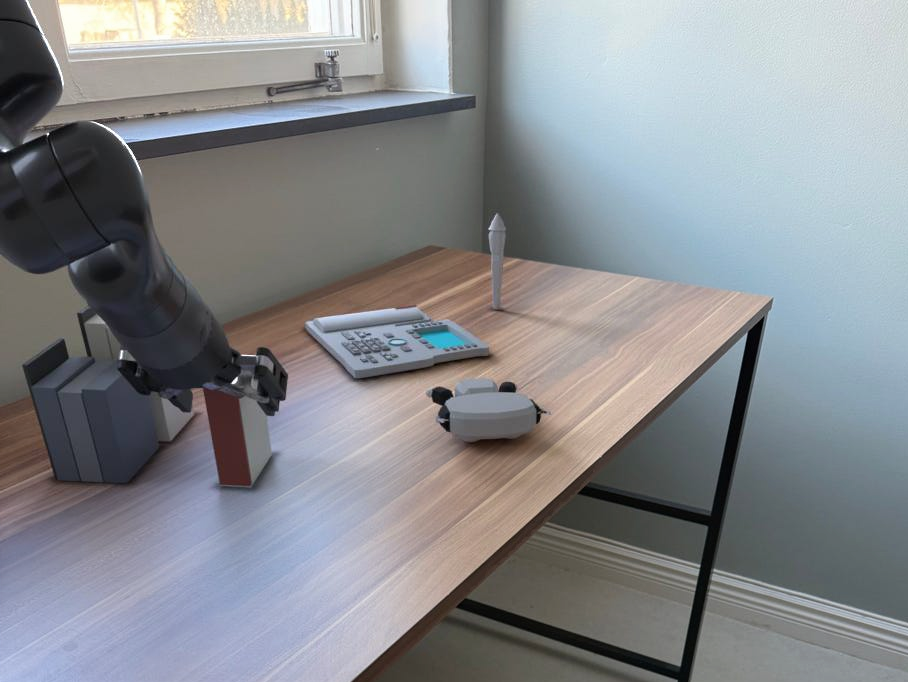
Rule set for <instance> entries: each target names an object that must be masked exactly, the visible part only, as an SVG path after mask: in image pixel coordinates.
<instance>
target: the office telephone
mask: <svg viewBox="0 0 908 682" xmlns="http://www.w3.org/2000/svg"><path fill="white" fill-rule="evenodd" d="M417 305H418V304H415V305H407V306H406V305H405V306H398V307H391V308H385V309H376V310H369V311H362V312H361V311H360V312H353V313H346V314H338V315H332V316H324V317H316V318H315V317H314V319H313V320H307V321H305V323H304V324H305V331H306V332H308V333H309V334H310V336H311V337H313V338H314V339H315V340H316V341H317V342H318V343H319V344H320V345H321V346H322V347H323V348H324V349H326V351H327V352H328V353H330V354H331V355H332V356H333V357H334V358H335V360H337V361H338V362H339V363H340V364H341V365H342V366H343V367H344V368H345V369H346V371H347V372H348V373H349V374H350V375H351V376H352V377H353V378H354V379H364V378H371V377H377V376H381V375H388V374H394V373H400V372H407V371H412V370H418V369H424V368H428V367H432V366H434V364H438V363H444V362H450V361H455V360H462V359H469V358H474V357H487V356H489V354H490V346H489V345H488V344H486V343H485V342H484V341H482V340H481V339H479V338H478V337H477V336H475V335H474V334H473V333H471V332H469V331H468V330H466V329H465V328H464V327H462V326H460V325H459V324H458V323H455V322H454V321H453V320H451V319H448V318H447V319H445V318H444V319H440V320H433V321H432V319H431V317H430V316H428V315H427V314H426V313H424V312H423V311H422V310H421V309H420V308H419V307H418V306H417Z"/></svg>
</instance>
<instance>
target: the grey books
mask: <svg viewBox="0 0 908 682" xmlns="http://www.w3.org/2000/svg"><path fill="white" fill-rule="evenodd" d="M118 359H119V358H118ZM118 359H117V360H116V361H95V358H94V357H87V355H86V356H85V355H83V356H82V355H81V356H80V355H72V356H71V357H70V355H69V351H68V348H67V344H66V340H65V338H63V337H62V338H61V337H60V338H58V339H56V340H55V341H54V342H53V343H51V344H49V345H48V346H47V347H45V348H43V349H42V350H41V351H40V352H38V353H37V354H35V355H34V356H32V357H31V358H30V359H28V360H27V361H25V362H24V363H23V364H22V365H21V366H22V370H23V373H24V377H25V381H26V383H27V387H28V390H29V393H30V398H31V401H32V404H33V407H34V411H35V414H36V418H37V421H38V424H39V429H40V432H41V435H42V438H43V442H44V445H45V448H46V452H47V456H48V458H49V463H50V466H51V470H52V472H53V473H52V474H53V476H54V478H55V479H57V480H58V481H64V482H65V481H66V482H85V483H106V484H107V483H108V484H109V483H110V484H128V483H129V482H130V481H131V480H132V479H133V477H135V475H136V474H137V473H138V472H139V471H140V470H141V468H142V467H143V466H144V465H145V464H146V463H147V462H148V461H149V460H150V458H151V457H152V456H153V455H154V454H155V453H156V452H157V450H159V449H160V445H159V441H158V439H157V434H156V430H155V425H154V420H153V416H152V411H151V406H150V402H149V397H148V395H142V394H139V393H138V392H137V391H136V390H135V389H134V388H133V387H132V386H131V384H130V383H129V382H128V381H127V380H126V379H125V378H124V376H123V375H122V374H121V373H120V372H119V371H118V370H117V368H118Z"/></svg>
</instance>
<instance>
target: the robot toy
mask: <svg viewBox="0 0 908 682" xmlns="http://www.w3.org/2000/svg"><path fill="white" fill-rule="evenodd" d="M517 389H518V385H517V383H514V382H512V381H504V382H501V384H500V385H499V387H498V384H497V383H496V382H495V381H494V380H493V379H492V378H485V377H473V378H472V377H471V378H465V379H462V380H459V381H458V382H457V383H456V384H455V386H454V394H453V391H452V390H451V389H449V388H447V387H444V386H435V387H434V388H431V389H430V388H429V389H426V390H425V395H426V396H427V397H428V398H431V400H432V403H433V404H436V405H439V406H440V408H439V410H438V412H437V416H435V423H438V424H439V425H440V426H441V428H443V429H444V431H445V432H446V433H447V432H448V433H450V434H451V436H452V437H455V438H458V439H459V440H461V441H462V442H465V443H475V442H477V441H480V440H496V439H510V440H514V439H517V438H519V437H521V436H522V435H526V434H528V433H530V432H531V431H533V430H535V427H536V426H537V425H539V423H540V422H541V418H542V415H543V414H545V415H548V416H549V415H552V412H551V411H552V410H545V409H544V408H541V407H540V406H539V404H537V403H536V402H535V401H534V399H532V398H529V396H528V395H526V394H523V393H518V392H517V391H518V390H517Z"/></svg>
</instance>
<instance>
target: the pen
mask: <svg viewBox="0 0 908 682" xmlns="http://www.w3.org/2000/svg"><path fill="white" fill-rule="evenodd" d="M487 230H488V231H489V233H488V242H489V243H488V244H489V250H490V253H491V254H490V257H491V262H490V263H491V265H490V267H491V268H490V269H491V289H492V290H491V291H492V293H491V294H492V307H493V308H492V309H493V310H498V311H499V310H500V307H501V297H502V285H503V275H504V251H505V244H506V230H507V227H506V225H505V222H504V221H503V218H502V217H501V216H500V214H499V213H498V212H497V213H496V214H495V216H494V217H493V219H492V221H491V223H490V225H489V227H488V229H487Z"/></svg>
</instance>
